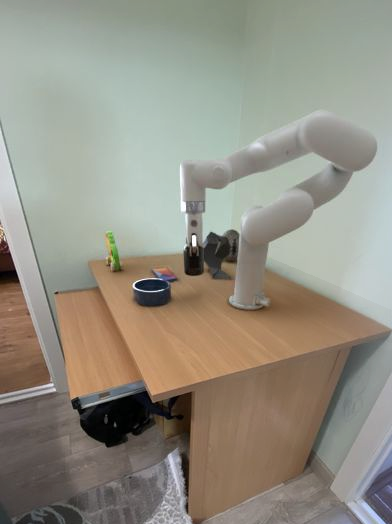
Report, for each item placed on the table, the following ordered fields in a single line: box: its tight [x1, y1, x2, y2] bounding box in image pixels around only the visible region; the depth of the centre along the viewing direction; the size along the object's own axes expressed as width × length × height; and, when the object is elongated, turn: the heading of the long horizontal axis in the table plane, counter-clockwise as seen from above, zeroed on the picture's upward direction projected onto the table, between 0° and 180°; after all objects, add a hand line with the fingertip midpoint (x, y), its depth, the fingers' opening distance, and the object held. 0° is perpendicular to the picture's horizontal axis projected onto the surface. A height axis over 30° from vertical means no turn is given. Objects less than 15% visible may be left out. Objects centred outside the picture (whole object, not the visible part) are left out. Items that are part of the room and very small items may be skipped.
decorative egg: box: [221, 228, 240, 262], centre depth 145 cm, size 12×12×15 cm
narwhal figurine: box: [203, 231, 233, 280], centre depth 128 cm, size 14×15×18 cm
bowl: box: [132, 277, 172, 307], centre depth 106 cm, size 13×13×6 cm
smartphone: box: [151, 266, 178, 282], centre depth 128 cm, size 7×15×1 cm, turn 23°
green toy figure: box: [105, 231, 124, 272], centre depth 133 cm, size 16×5×15 cm, turn 25°
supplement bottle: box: [182, 236, 205, 277], centre depth 99 cm, size 7×7×12 cm
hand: (193, 264), depth 101 cm, fingers closed on supplement bottle, 6 cm apart
